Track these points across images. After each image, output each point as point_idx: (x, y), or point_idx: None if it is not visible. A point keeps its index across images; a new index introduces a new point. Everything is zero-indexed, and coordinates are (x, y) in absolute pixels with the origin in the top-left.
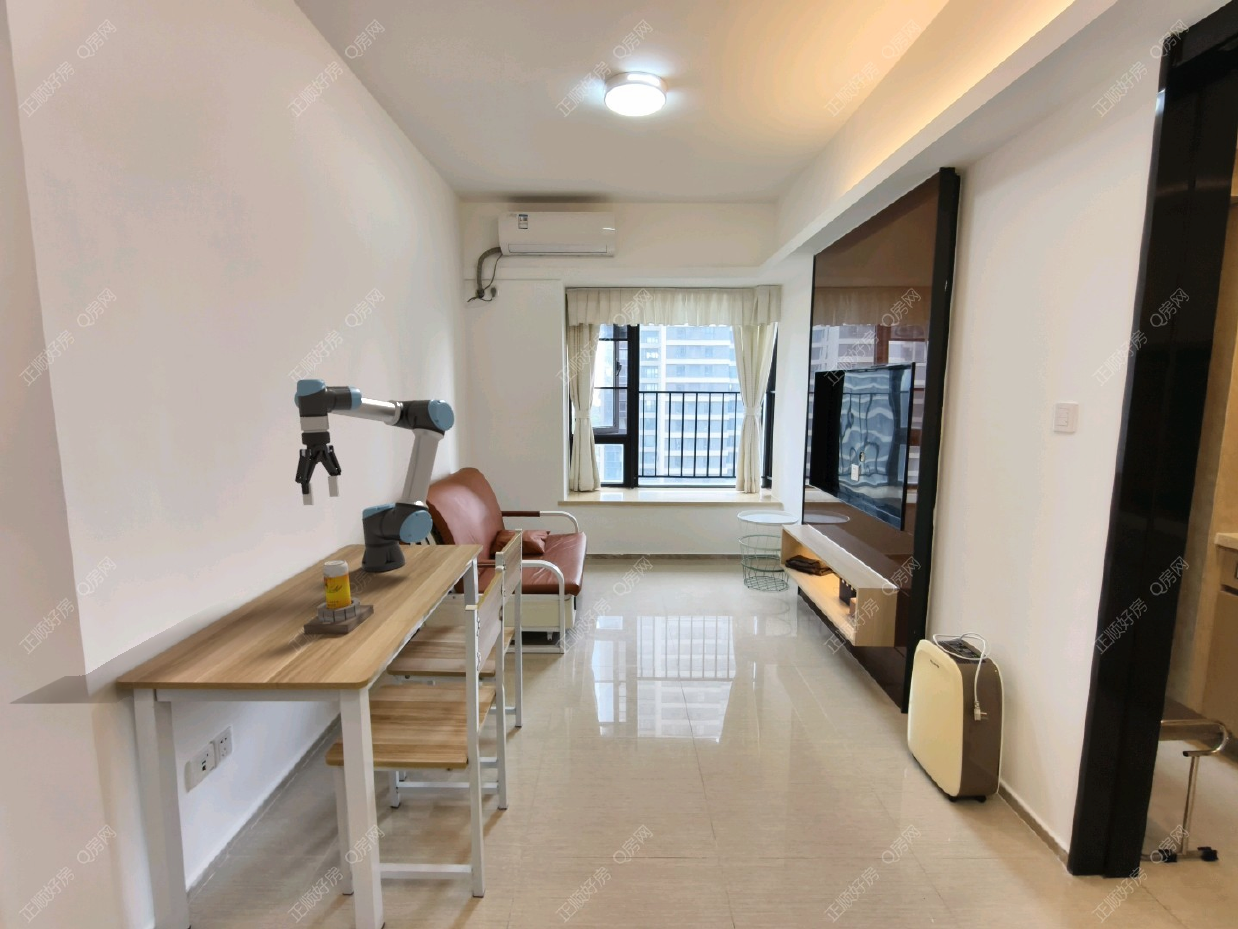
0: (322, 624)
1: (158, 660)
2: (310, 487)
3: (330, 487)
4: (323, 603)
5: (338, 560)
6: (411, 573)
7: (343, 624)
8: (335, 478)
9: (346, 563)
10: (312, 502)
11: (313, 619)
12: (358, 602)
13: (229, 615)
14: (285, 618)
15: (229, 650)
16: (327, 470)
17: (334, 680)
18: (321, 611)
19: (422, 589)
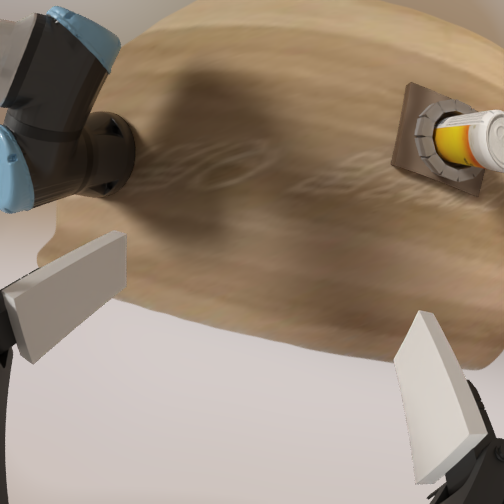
0: None
1: (467, 357)
2: (472, 404)
3: (87, 305)
4: (446, 173)
5: (487, 134)
6: (159, 72)
7: None
8: (30, 296)
9: (500, 111)
10: (435, 322)
11: (459, 185)
12: (457, 101)
13: (332, 348)
14: (386, 252)
15: (482, 288)
16: (3, 397)
17: None
18: (482, 168)
19: (277, 16)
